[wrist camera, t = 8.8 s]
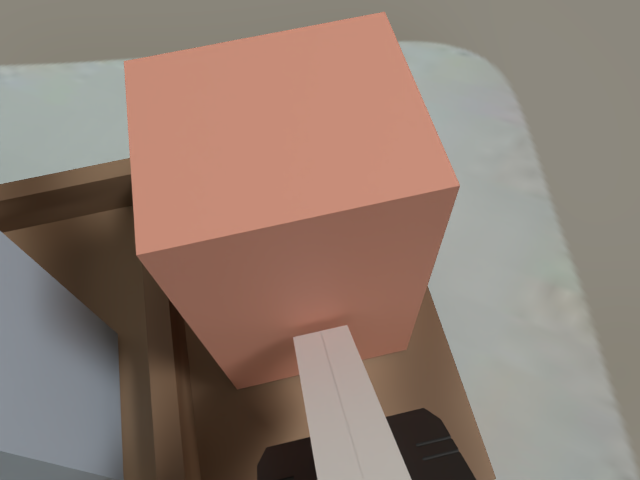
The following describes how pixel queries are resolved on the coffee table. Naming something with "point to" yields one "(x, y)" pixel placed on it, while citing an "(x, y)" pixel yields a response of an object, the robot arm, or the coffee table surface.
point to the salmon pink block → (288, 190)
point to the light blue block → (54, 379)
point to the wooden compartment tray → (199, 343)
